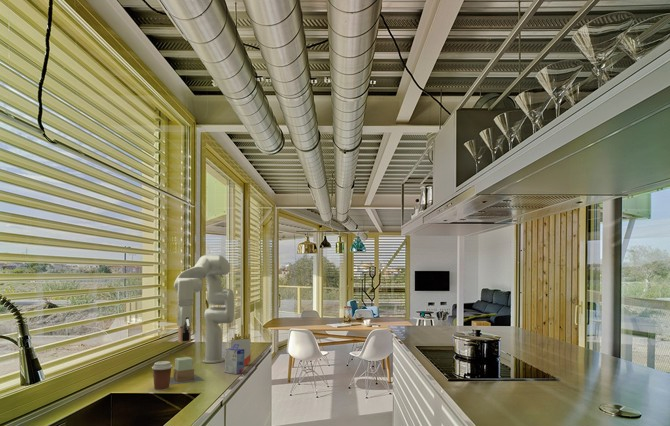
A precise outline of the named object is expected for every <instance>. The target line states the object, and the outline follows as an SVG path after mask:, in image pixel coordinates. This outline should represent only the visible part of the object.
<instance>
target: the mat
mask: <svg viewBox="0 0 670 426" xmlns="http://www.w3.org/2000/svg"><path fill="white" fill-rule="evenodd" d="M203 381H205V379H203V378H202V377H200V376H199V375H197V374H195V373H194V380H189V381H181V382H177V381H175V380H174V379H173V377H171V376H170V385H169V386H173V385H180V384H188V383H196V382H203Z"/></svg>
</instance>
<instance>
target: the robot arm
mask: <svg viewBox="0 0 670 426" xmlns="http://www.w3.org/2000/svg"><path fill="white" fill-rule="evenodd" d="M230 271H231V264H230V262H229V261H228V260H227V259H226V258H225V257H224V256H222V255H220V254H204V255H202V256H200V257H199V259H198V260H197V261H196V263H195V265H194V266H192V267H190V268H188V269H185V270H183V271H182V272H180V273H179V275H178V276H177V277H176V278H175V280H174V283H173V289H174V291H175V292H177V302H176V304H177V307H178V309H177V320H176V325H177V326H178V327H183V337H182V341H189V327H191V326H192V307H193V306H194V293H199V292H201V291H202V289H203V286H204V284H203V281H202V280H203V279H206V284H207V285H206V287H207V288H206V298H207V299H206V300H207V304H209V305H211V306H213V307H207V308H206V309H205V310H204V314H203V316H204V323H205V324H204V325H205V344H204V345H205V353H204V355H205V356H204V358H203V359H202V363H205V364H218V363H219V364H220V363H223V362H225V357H223V356H222V355H223V330H222V327H221V326H220V325H219V324H231V323H233V322H234V319H235V293H234V291H233V290H232V289H230V288H222V286H223V285H222V282H223V281H222V279H221V277H220V276H226V275H228V274H229V273H230ZM215 306H216V307H215ZM224 306H225V307H224Z"/></svg>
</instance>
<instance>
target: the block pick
mask: <svg viewBox="0 0 670 426" xmlns="http://www.w3.org/2000/svg"><path fill="white" fill-rule="evenodd" d="M177 330H178V331H177V342H178V343H180V344H183V343H185V344H186V343H192V340H191V339H192V337H191V336H192V328H191V326H190V327H189V341H182V337H183V327H180V326H178V328H177Z"/></svg>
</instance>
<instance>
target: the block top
mask: <svg viewBox="0 0 670 426" xmlns="http://www.w3.org/2000/svg"><path fill="white" fill-rule="evenodd" d="M174 368H175V369H176V370H178V371H183V370H191V369H194V358H192V357H191V356H183V357H175V358H174Z"/></svg>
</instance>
